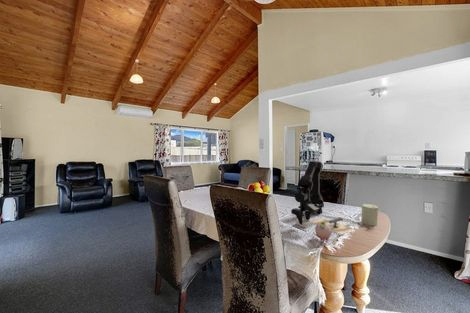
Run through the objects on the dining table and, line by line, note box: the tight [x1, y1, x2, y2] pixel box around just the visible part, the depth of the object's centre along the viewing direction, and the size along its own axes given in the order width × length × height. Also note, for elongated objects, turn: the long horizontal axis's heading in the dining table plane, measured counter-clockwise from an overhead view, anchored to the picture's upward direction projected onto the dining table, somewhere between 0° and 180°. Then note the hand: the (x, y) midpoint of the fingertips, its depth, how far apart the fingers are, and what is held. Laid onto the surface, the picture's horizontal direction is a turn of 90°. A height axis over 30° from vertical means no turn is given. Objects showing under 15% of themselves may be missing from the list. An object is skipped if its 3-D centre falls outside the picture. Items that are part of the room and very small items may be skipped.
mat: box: [292, 225, 307, 232], centre depth 137 cm, size 10×10×1 cm
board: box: [312, 217, 355, 235], centre depth 137 cm, size 22×14×2 cm, turn 36°
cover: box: [295, 217, 314, 229], centre depth 137 cm, size 8×6×3 cm
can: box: [360, 203, 379, 227], centre depth 145 cm, size 9×9×12 cm
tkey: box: [328, 216, 344, 227], centre depth 134 cm, size 11×2×5 cm, turn 121°
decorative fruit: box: [314, 222, 333, 241], centre depth 120 cm, size 9×8×10 cm
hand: (304, 223), depth 137 cm, fingers closed on cover, 6 cm apart
